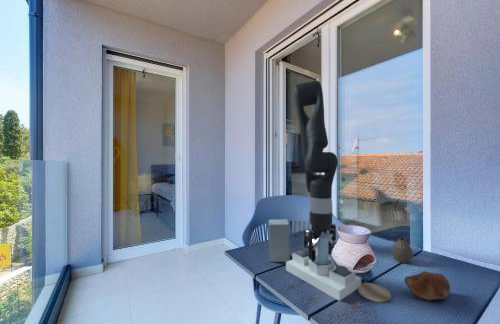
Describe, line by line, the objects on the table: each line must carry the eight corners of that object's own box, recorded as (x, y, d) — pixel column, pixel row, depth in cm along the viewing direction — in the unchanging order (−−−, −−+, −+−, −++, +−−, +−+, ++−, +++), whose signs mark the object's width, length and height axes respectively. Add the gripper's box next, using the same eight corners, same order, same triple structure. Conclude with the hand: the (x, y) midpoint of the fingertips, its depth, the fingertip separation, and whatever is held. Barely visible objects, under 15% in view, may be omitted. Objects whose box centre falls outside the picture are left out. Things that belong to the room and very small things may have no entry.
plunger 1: (302, 256, 88) (302, 248, 88) (310, 259, 85) (310, 251, 85) (296, 258, 86) (296, 250, 85) (303, 262, 83) (303, 254, 83)
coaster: (366, 281, 76) (366, 279, 76) (396, 295, 69) (396, 293, 69) (351, 291, 71) (351, 289, 71) (382, 306, 64) (382, 304, 64)
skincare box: (288, 255, 96) (288, 218, 96) (290, 263, 89) (290, 223, 89) (268, 254, 97) (268, 218, 97) (268, 262, 90) (268, 223, 89)
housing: (307, 261, 91) (307, 246, 91) (361, 286, 73) (361, 268, 73) (285, 270, 84) (285, 254, 84) (339, 300, 66) (339, 280, 66)
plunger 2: (340, 273, 75) (340, 264, 75) (350, 278, 72) (350, 269, 72) (333, 277, 73) (333, 267, 72) (343, 282, 70) (344, 272, 70)
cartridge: (319, 264, 82) (319, 228, 82) (332, 270, 78) (332, 232, 78) (310, 268, 79) (310, 231, 79) (322, 274, 75) (322, 235, 75)
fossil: (405, 289, 66) (413, 256, 69) (393, 287, 74) (401, 257, 77) (456, 314, 62) (462, 278, 65) (438, 310, 69) (444, 277, 73)
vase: (393, 263, 89) (394, 241, 89) (390, 255, 96) (390, 235, 95) (414, 266, 87) (415, 243, 86) (409, 258, 93) (410, 237, 93)
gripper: (324, 205, 85) (324, 248, 86) (298, 210, 77) (297, 258, 77) (342, 209, 79) (342, 255, 79) (316, 215, 71) (315, 267, 71)
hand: (320, 256), depth 78 cm, fingers open, 8 cm apart
